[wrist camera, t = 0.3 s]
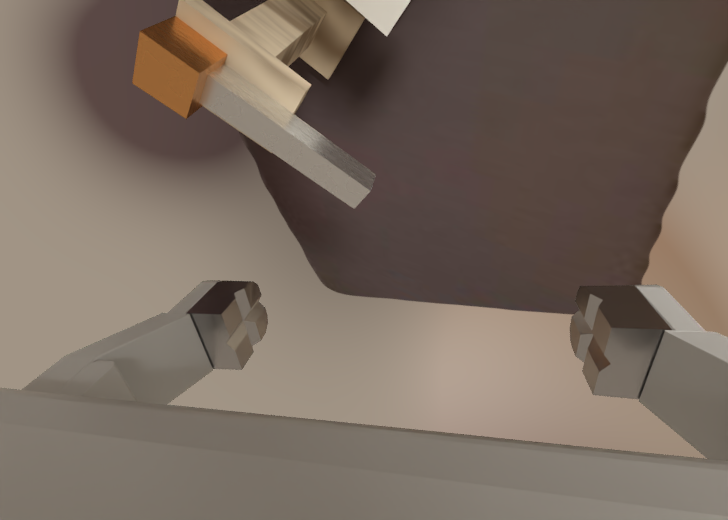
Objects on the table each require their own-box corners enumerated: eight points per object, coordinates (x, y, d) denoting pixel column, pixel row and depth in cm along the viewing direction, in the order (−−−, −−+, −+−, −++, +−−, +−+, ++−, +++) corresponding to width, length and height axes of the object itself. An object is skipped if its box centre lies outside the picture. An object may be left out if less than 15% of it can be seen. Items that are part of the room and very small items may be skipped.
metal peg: (175, 15, 30) (139, 31, 27) (381, 168, 37) (372, 196, 33) (165, 64, 33) (132, 83, 30) (355, 197, 40) (345, 224, 37)
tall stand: (292, -52, 46) (182, -15, 28) (367, 15, 50) (309, 84, 32) (264, 21, 53) (160, 86, 35) (331, 75, 56) (268, 159, 39)
